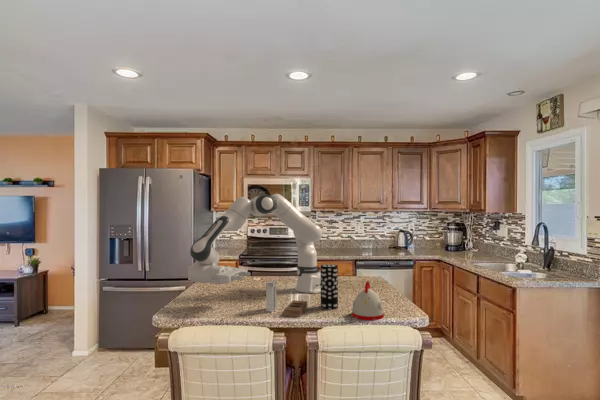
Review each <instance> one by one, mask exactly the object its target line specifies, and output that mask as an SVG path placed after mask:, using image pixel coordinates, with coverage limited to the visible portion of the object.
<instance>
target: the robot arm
mask: <svg viewBox="0 0 600 400" xmlns="http://www.w3.org/2000/svg"><path fill="white" fill-rule="evenodd" d="M270 213H272V214H274V215H275V216H276V217H277V218H278V219H279V220H280V221H281V222H282V223H283V224H284V225H285V226H286V227H287V228H288V229H290V230H292V233H293V236H294V238H295V245H296V248H297V266H296V269H297V270H296V274H297V275H296V276H297V278H296V279H297V280H296V285H295V291H296V292H299V293H307V294H309V293H310V294H317V293H321V265H320V266H319V265H318V257H317V255H318V252H317V250H316V248H315V243H316V242H319V241H320V240H321V239H322V237H323V230H322V228H321V227H320V226H319V225H317V224H316V223H315V222H313V221H312V220H311V219H310V218H308V217H307V216H306V215H304V214H303V213H302V212H301V211H300V210H298V209H297V208H296V207H295V205H293V204H292V203H291V202H290V201H289V200H288V199H287V198H286V197H284V196H283V195H281V194H280V193H274V194H272V195H269V194H260V195H258V196H255V197H254V198H251V199H249V198H247V197H244V196H240V197H237V198H236V199H235V200H234V201H233V202H232V203H231V205H230V206H229V207H228V209H227V210H226V212H225V213H224V214H223V215H221V216H219V217H218V218H216V220H215V221H214V222H213V223H212V224H211V225H210V226H209V227H208V229H207V230H206V231H205V232H204V234H202V235H201V236H200V238H199V239H197V240H196V241H195V242H194V243H193V244H192V245H191V246H190V250H189V254H190V256H191V258H192V259H193V260H195V262H194V263H193V264H192V265H190V266H188V268H187V277H188V279H189V280H190V281H191V282H193V283H199V284H212V285H223V284H229V283H231V282H234V281H242V280H244V277H250V276H251V272H249V271H245V269H244V268H241V267H235V266H230V265H219V263H220V260H221V259H220V258H221V256H220V253H218V252H219V251H217V250H216V249H215V248H214V247H213V244H214V242H215V241H216V240H217V239H218V237H219V236H220V235H221V234H222V233H223V232H225V231H229V232H235V231H238V230H240V229H241V228H242V227H243V225H244V224H245V222H246V221H247V219H248V217H249V216H250V217H254V218H258V217H259V218H260V217H264V216H265V215H269V214H270Z"/></svg>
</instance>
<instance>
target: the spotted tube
mask: <svg viewBox="0 0 600 400" xmlns="http://www.w3.org/2000/svg"><path fill="white" fill-rule="evenodd" d="M320 266H321V270H320V272H321V292H320V308H321V309H323V310H336V309H338V308H339V279H338V278H339V270H338V268H339V267H338V265H337V264H333V263H329V264H328V263H327V264H325V263H323V264H320Z"/></svg>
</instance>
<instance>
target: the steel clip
mask: <svg viewBox="0 0 600 400" xmlns="http://www.w3.org/2000/svg"><path fill="white" fill-rule="evenodd" d="M265 284H266V285H265V286H266V287H265V292H266V293H265V295H266V297H265V299H266V300H265V309H266V310H265V312H266V313H274V310H276V309H277V280H269V281H268V282H267V283H265Z"/></svg>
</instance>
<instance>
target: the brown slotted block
mask: <svg viewBox="0 0 600 400" xmlns="http://www.w3.org/2000/svg"><path fill="white" fill-rule="evenodd" d="M307 308H308V300H295V299H294V300H292V301H290V303H289V304H288V305H287V306H286V307H285V308H284V309H283V311H284V314H283V315H284V317H293V318H294V317H295V318H301V317H302V315H303V314H304V312H305V311H306V310H307Z"/></svg>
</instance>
